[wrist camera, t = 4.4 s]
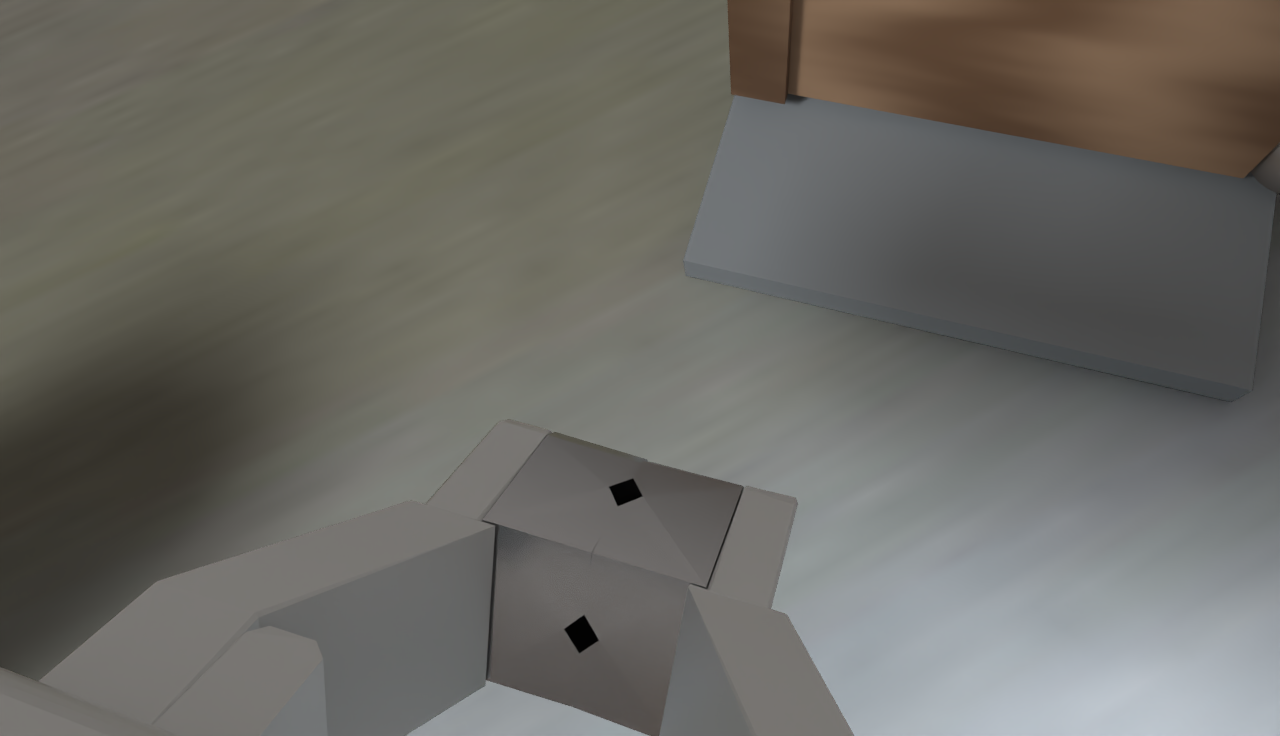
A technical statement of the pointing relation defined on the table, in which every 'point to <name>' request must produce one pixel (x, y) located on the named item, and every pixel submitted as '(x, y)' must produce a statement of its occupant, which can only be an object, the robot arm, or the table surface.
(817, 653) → the table surface
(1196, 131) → the gate leaf
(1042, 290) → the grey plate
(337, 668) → the robot arm
